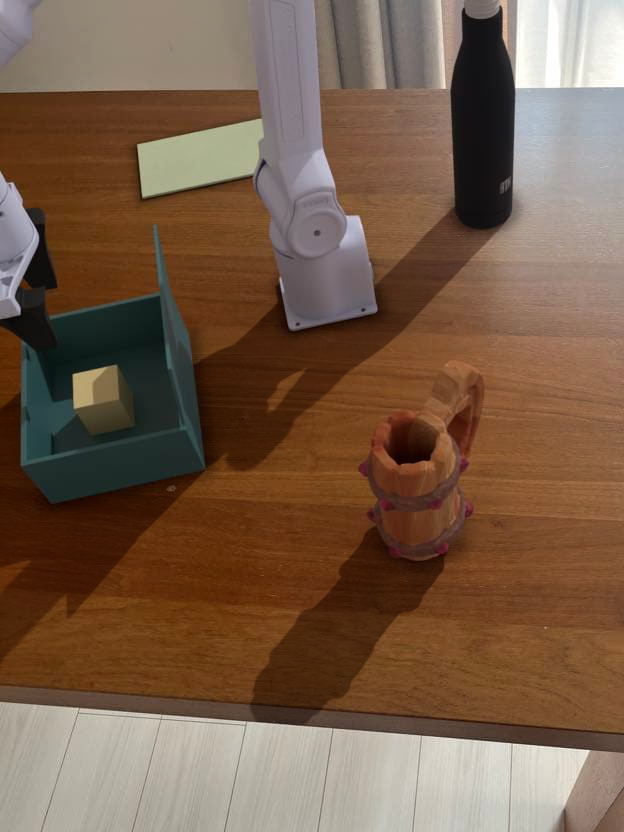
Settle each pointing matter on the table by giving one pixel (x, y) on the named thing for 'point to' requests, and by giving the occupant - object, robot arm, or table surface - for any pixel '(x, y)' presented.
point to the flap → (168, 326)
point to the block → (103, 400)
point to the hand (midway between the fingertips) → (47, 316)
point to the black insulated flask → (483, 118)
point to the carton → (152, 398)
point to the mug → (425, 466)
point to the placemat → (199, 158)
